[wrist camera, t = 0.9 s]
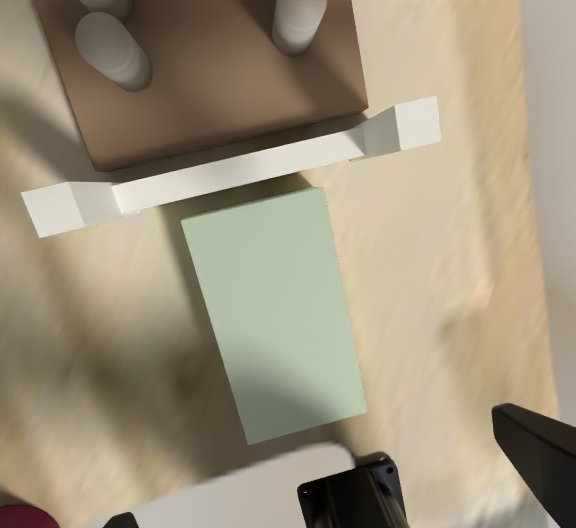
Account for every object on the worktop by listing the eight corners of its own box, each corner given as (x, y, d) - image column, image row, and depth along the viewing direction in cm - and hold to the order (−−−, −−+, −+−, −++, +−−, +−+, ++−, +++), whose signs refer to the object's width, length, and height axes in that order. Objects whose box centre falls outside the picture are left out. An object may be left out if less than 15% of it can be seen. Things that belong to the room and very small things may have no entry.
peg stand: (361, 111, 17) (394, 90, 13) (104, 172, 17) (60, 168, 13) (321, -132, 15) (347, -243, 11) (17, -73, 14) (-70, -171, 10)
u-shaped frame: (378, 155, 18) (441, 141, 12) (110, 220, 17) (39, 238, 11) (373, 125, 18) (436, 95, 12) (99, 190, 17) (20, 192, 11)
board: (351, 381, 21) (367, 412, 18) (248, 409, 21) (248, 445, 18) (311, 186, 18) (323, 187, 15) (191, 215, 18) (180, 220, 15)
